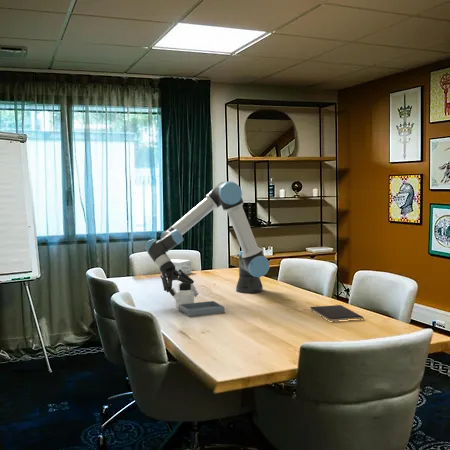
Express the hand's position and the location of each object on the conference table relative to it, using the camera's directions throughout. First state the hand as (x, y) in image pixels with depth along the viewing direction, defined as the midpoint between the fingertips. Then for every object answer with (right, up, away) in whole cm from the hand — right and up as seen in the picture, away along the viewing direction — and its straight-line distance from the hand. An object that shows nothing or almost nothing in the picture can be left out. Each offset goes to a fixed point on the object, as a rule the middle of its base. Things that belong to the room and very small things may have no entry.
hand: (188, 297), depth 258 cm
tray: (+7, -5, -9) cm, 12 cm away
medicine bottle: (-2, -5, +2) cm, 5 cm away
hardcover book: (+69, -6, -20) cm, 72 cm away
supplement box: (-15, +2, +103) cm, 104 cm away
